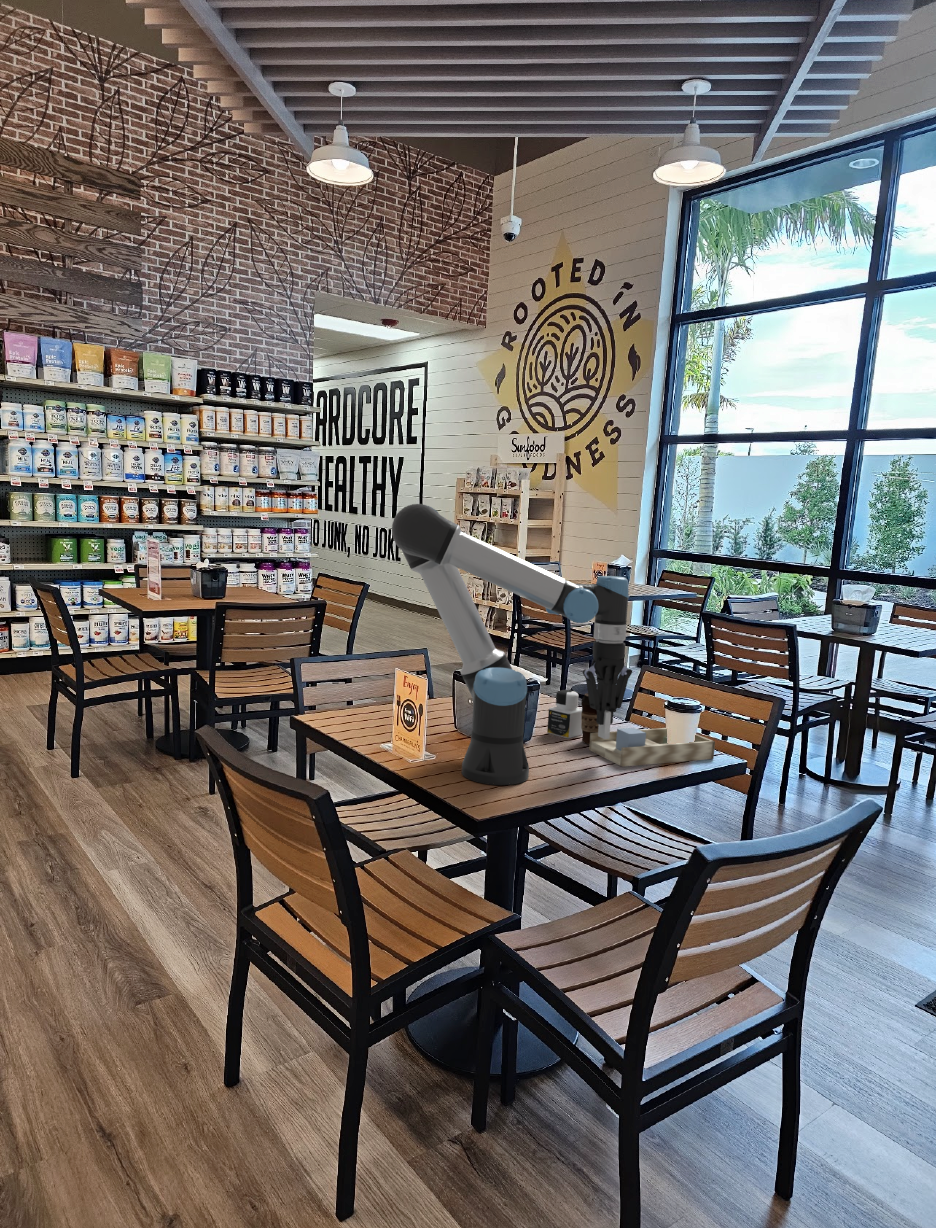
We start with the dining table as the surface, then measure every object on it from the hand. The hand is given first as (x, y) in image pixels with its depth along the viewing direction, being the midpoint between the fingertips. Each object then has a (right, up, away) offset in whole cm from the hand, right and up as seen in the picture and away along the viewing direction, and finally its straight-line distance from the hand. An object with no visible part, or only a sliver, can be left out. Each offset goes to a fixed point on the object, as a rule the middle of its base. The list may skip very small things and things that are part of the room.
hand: (603, 737), depth 192 cm
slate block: (+7, -4, +4) cm, 9 cm away
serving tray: (+14, -6, +11) cm, 19 cm away
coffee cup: (+1, -5, +19) cm, 19 cm away
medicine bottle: (-6, -3, +26) cm, 27 cm away
